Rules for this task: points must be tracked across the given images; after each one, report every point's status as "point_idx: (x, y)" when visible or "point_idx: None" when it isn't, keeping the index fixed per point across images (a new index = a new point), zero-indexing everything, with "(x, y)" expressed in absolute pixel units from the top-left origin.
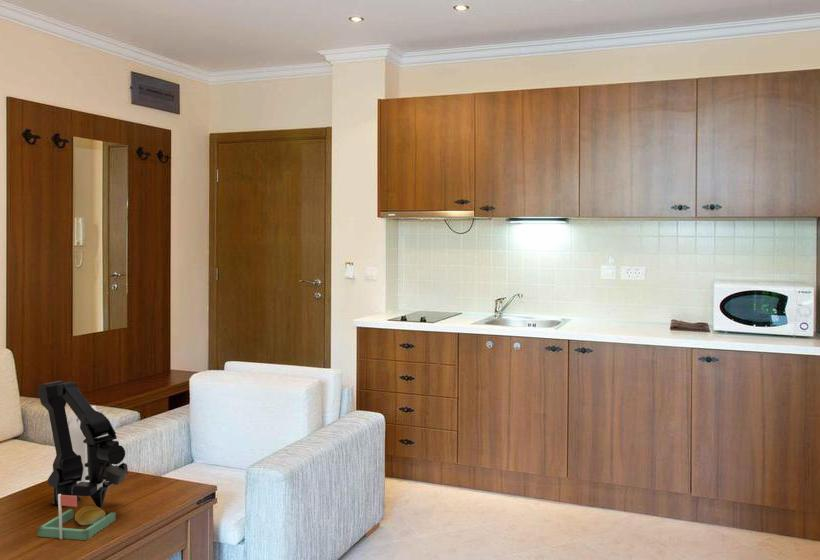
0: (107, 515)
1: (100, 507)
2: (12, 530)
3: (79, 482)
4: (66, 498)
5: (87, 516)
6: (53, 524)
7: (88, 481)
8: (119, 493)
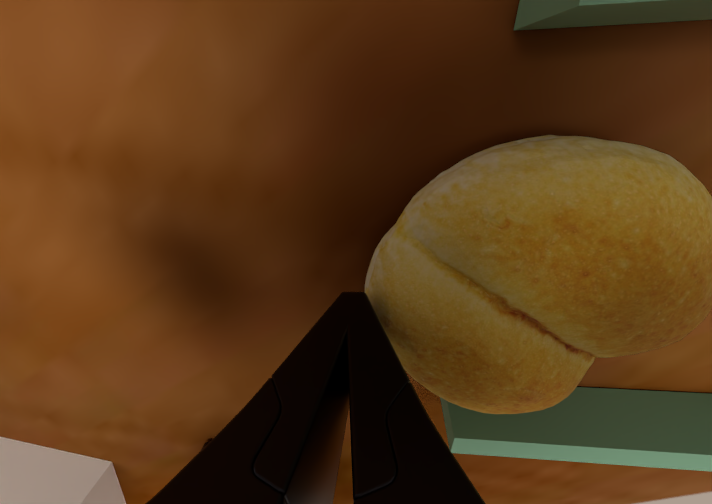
0: None
1: (365, 293)
2: (602, 499)
3: (100, 500)
4: None
5: None
6: (685, 426)
7: (68, 490)
8: (15, 328)
